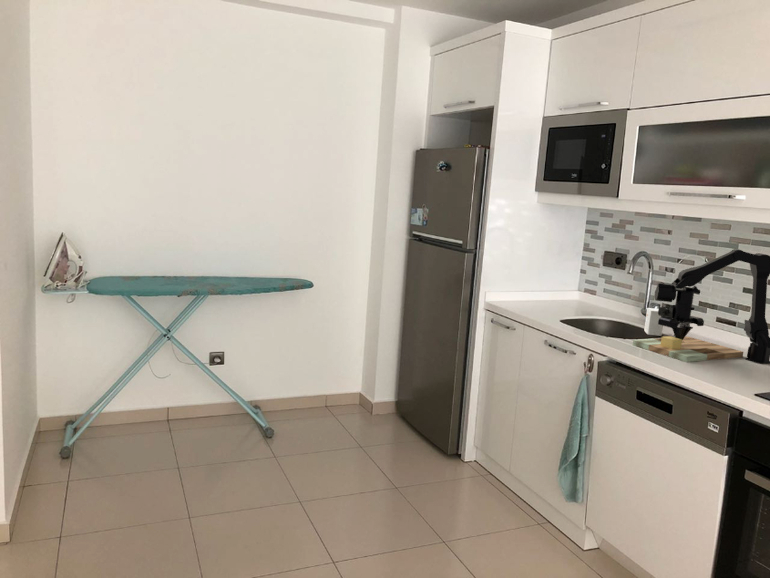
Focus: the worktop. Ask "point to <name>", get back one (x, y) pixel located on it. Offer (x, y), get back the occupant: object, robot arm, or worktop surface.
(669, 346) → the mustard block
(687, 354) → the trap deck
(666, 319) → the robot arm
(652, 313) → the small box
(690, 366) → the worktop surface
